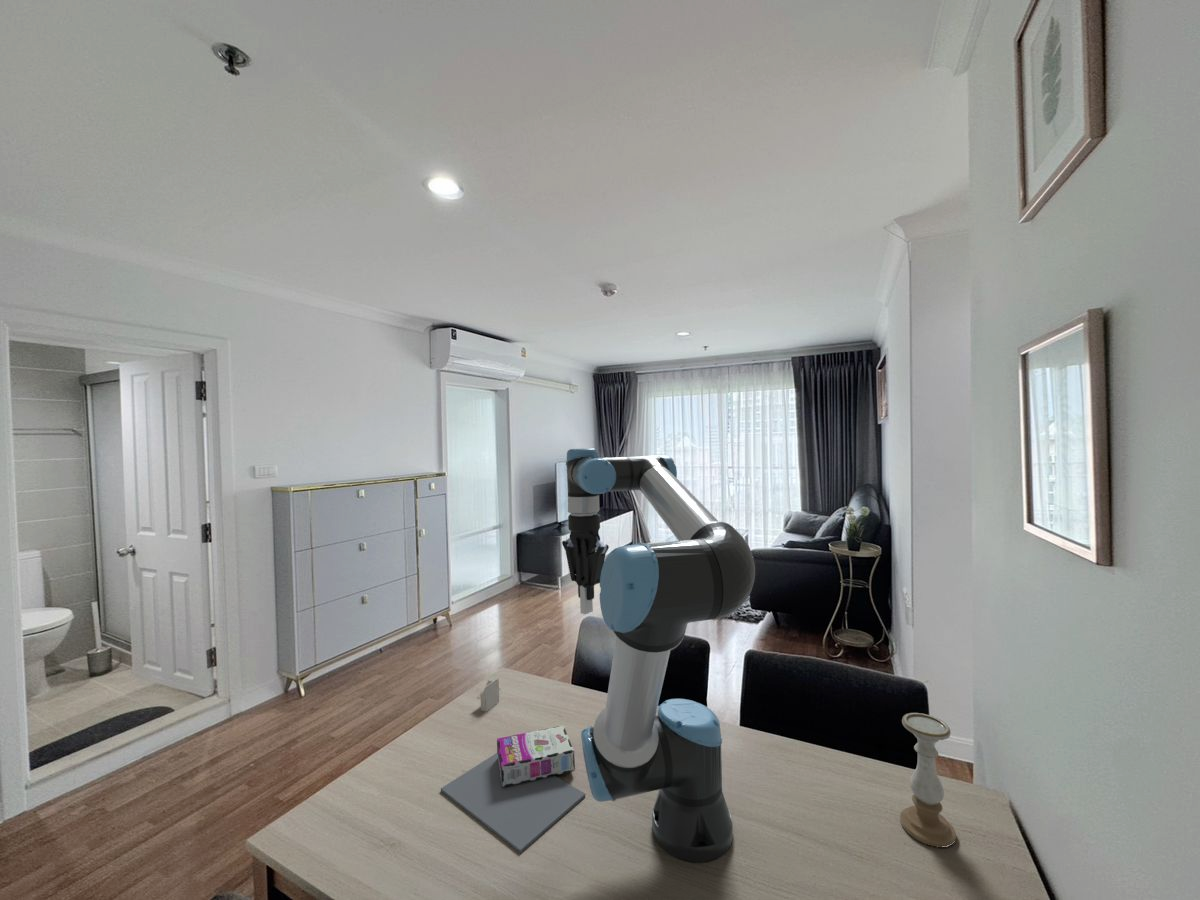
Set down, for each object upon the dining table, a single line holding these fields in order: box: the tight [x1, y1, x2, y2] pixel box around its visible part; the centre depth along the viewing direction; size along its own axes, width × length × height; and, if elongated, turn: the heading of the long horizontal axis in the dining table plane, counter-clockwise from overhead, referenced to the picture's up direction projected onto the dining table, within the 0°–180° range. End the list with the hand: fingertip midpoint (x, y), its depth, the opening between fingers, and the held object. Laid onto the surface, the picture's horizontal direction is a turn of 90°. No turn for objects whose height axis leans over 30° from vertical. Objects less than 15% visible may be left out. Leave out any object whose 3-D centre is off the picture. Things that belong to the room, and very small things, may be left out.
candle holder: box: [899, 712, 957, 848], centre depth 92 cm, size 9×9×20 cm
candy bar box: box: [496, 725, 576, 787], centre depth 113 cm, size 11×5×16 cm
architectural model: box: [476, 677, 502, 713], centre depth 141 cm, size 3×7×7 cm, turn 152°
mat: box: [440, 752, 586, 854], centre depth 105 cm, size 26×18×1 cm
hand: (586, 612), depth 116 cm, fingers closed
